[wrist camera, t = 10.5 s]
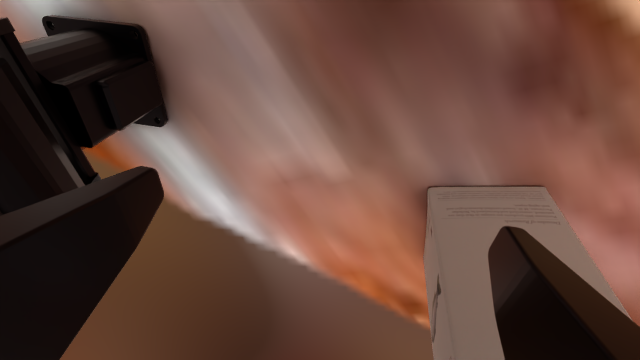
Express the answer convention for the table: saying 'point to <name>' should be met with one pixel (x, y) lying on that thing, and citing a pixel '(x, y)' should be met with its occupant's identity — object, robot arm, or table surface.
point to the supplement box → (472, 261)
